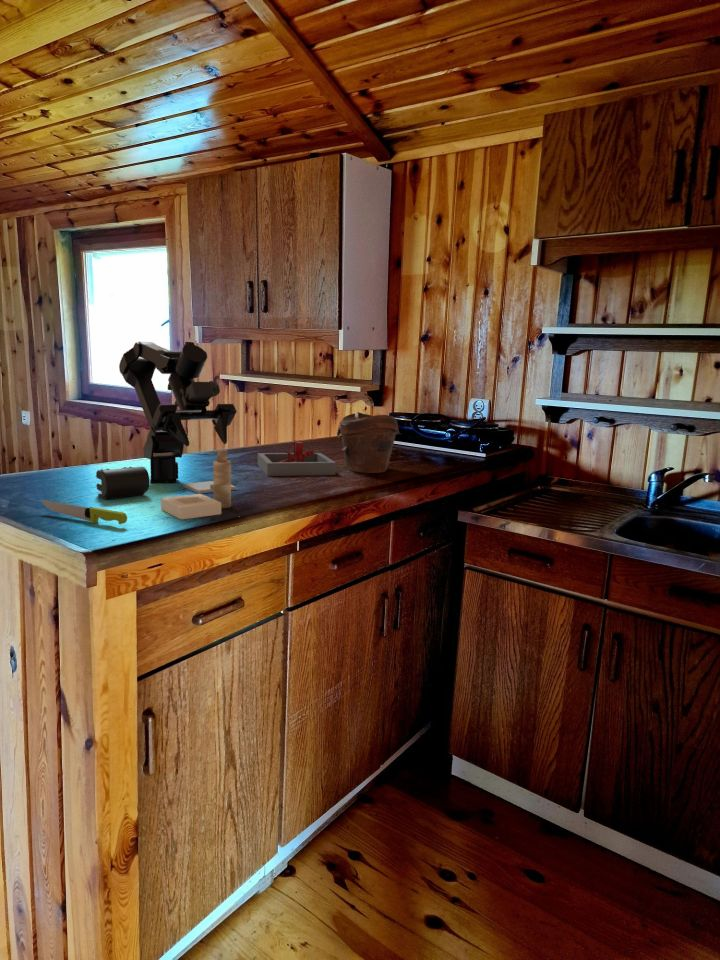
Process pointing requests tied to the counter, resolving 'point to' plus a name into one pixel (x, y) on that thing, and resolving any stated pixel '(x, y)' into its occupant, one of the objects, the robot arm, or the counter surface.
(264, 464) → the gray square tray
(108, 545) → the counter surface
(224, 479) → the birch pin
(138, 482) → the end cap
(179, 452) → the robot arm
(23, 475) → the counter surface
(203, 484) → the lid panel
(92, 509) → the kitchen knife
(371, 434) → the brown tapered pot
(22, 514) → the counter surface
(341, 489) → the counter surface
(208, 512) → the white square socket base
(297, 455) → the diorama
